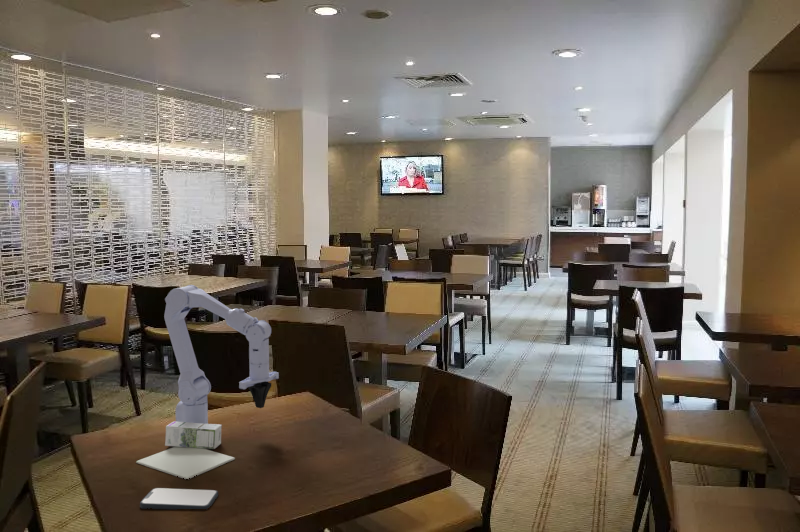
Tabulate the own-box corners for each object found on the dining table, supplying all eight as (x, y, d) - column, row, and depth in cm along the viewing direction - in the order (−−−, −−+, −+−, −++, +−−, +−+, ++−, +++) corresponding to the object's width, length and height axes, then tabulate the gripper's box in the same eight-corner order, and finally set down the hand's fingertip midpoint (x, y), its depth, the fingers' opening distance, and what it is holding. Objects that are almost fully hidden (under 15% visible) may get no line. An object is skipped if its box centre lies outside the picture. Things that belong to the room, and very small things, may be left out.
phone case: (219, 496, 159) (153, 493, 160) (219, 489, 159) (153, 486, 159) (207, 513, 150) (137, 510, 151) (207, 506, 150) (137, 503, 151)
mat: (136, 462, 177) (136, 461, 177) (184, 444, 191) (184, 443, 191) (187, 479, 167) (187, 477, 167) (234, 459, 180) (234, 457, 180)
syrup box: (222, 424, 192) (173, 420, 193) (215, 429, 186) (164, 426, 187) (221, 443, 192) (172, 440, 193) (214, 449, 186) (163, 446, 187)
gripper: (251, 369, 189) (252, 415, 191) (286, 359, 202) (286, 403, 203) (233, 365, 193) (234, 411, 194) (268, 356, 205) (269, 399, 207)
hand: (259, 407), depth 199 cm, fingers closed
